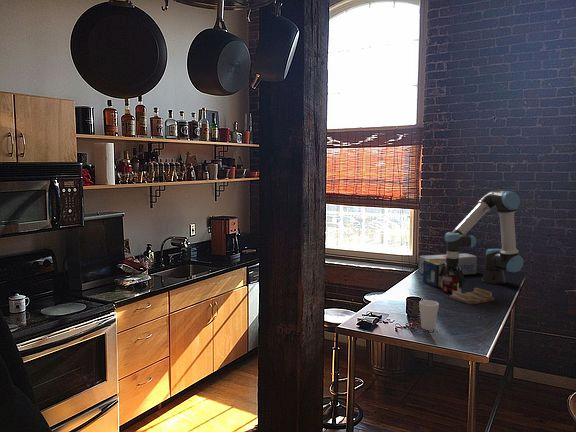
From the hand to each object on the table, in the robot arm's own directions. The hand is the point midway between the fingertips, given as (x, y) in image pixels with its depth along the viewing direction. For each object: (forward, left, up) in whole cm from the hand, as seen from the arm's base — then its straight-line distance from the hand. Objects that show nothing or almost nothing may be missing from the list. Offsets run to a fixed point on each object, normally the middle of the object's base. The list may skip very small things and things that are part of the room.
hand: (451, 290), depth 310 cm
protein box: (-6, -20, -2) cm, 21 cm away
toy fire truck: (0, 0, -2) cm, 2 cm away
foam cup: (+60, +44, -2) cm, 74 cm away
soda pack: (-36, -39, -2) cm, 53 cm away
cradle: (0, +17, -1) cm, 17 cm away
